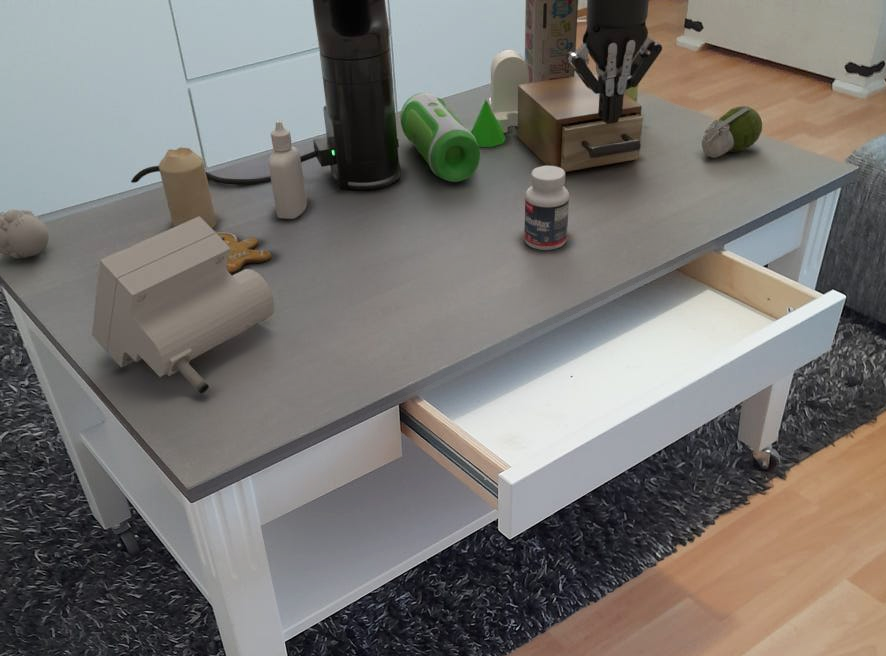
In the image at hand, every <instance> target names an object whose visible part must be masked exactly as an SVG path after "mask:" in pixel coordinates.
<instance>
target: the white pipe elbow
mask: <svg viewBox="0 0 886 656" xmlns="http://www.w3.org/2000/svg"><path fill="white" fill-rule="evenodd" d="M217 233H218V232H216V230H214V228H213V229H212V228H211V227H210V226H209V225H208V224H207V223H206V222H205V221H204V220H203V219H202V218H201V217H200V216H199V217H197V218H194V219H192V220H190V221H187V222H185V223H183V224H181V225H178V226H176V227H174V226H173V227H171V228H169V229H167V230H165V231H162V232H161V233H158V234H156V235H153V236H151V237H149V238H146V239H144V240H142V241H140V242H138V243H135V244H133V245H130V246H129V247H126V248H124V249H121V250H119V251H117V252H115V253H112V254H110V255H108V256H106V257H103V258H101V259H100V260H99V266H98V275H97V284H96V292H95V293H96V294H95V303H94V311H93V312H94V313H93V322H92V330H91V331H92V332H91V336H92V337H93V339H95V341H97V343H98V344H99V345H100V346H101V348H102V349H103V350H104V352H106V353H107V354H108V355H109V357H110V358H112V360H114V361H115V363H116V364H117V365H118V366H119V367H120V368H123V367H125V366H127V365H129V364H131V363H132V362H135V363H137V362H139V361H141V360H143V361H144V362H145V363H146V364H147V365H148V366H149V367H150V368H151V369H152V370H153V371H154V372H155V374H156V375H157V376H158V377H159V378H161V377H164V376H165V375H167V376H168V377H170V376H171V375H174V374H175V373H177V372H180V374H182V376H183V377H184V378H185V379H186V380H187V381H188V383H190V385H192V386H193V387H194V389H195V390H196V391H197V392H198V394H203V393H205V392H206V391H207V390H208V389H209V388H210V386H209V384H208V383H207V381H205V379H203V377H201V375H199V373H198V372H197V371H196V370H195V369H194V368H193V367H192V366H191V364H190V361H191V360H193V359H196V358H197V357H199V356H201V355H203V354H204V353H206V352H208V351H210V350H212V349H214V348H216V347H217V346H219V345H220V344H223V343H225V342H226V341H228V340H230V339H232V338H234V337H235V336H238V335H239V334H241V333H243V332H244V331H246V330H248V329H250V328H251V327H253V326H255V325H257V324H259V323H261V322H263V321H265V320H266V319H268V318H270V317H271V316H272V315H273V314H274V312H275V307H276V304H275V303H276V302H275V298H274V294H273V292H272V290H271V288H270V286H269V284H268V282H267V281H266V279H264V277H263V276H262V275H261V274H260V273H259V272H257V271H256V270H254V269H251V268H245V269H243V270H240V271H238V272H236V273H234V274H232V273H229V272H228V270H227V268H226V263H227V260H228V256H229V252H230V249H231V248H230V247H229V246H228V245H227V244H226V243H225V242H224V241H223V240H222V239H221V238H220V237H219V236H218V234H217Z"/></svg>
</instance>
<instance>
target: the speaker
mask: <svg viewBox="0 0 886 656" xmlns="http://www.w3.org/2000/svg"><path fill="white" fill-rule="evenodd" d="M399 118H400V126H401V129H402V132H403V134H404V136H405V137H406V139H407V140H408V141H409V142H411V143H412V145H413V146H414V147H415V148H416V150H417V151H418V152H419V154H420V155H421V156H422V158H423V159H424V160H425V162H426V163H427V164H428V166H429V168H430V170H431V171H432V173H433V174H434V175H435V176H437V177H439V178H440V179H442V180H444V181H447V182H452V183H457V182H462V181H464V180H467V179H468V178H470V177H471V176H472V175H473V174H474V173H475V172H476V170H477V168H478V166H479V163H480V159H481V152H480V147H479V146H478V143H477V141H476V139H475V137H474V135H473V134H472V133H471V131H470V130H469V129H468V128H467V127H466V126H465V125H464V124H463V123H462V122H461V121H460V120H459V119H458V118H457V117H456V116H455V114H454V113H453V112H452V111H451V110H450V109H449V108H448V107H447V104H445V102H444V101H443V100H442V99H441V98H440V97H439V96H438V95H435V94H432V93H426V92H420V93H416V94H413V95H412V96H410V97H409V98H408V99H407V100H406V101H405V102H404V103H403V105H402V107H401V110H400V117H399Z"/></svg>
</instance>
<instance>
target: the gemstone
mask: <svg viewBox="0 0 886 656" xmlns="http://www.w3.org/2000/svg"><path fill="white" fill-rule="evenodd" d="M470 132H471V133H472V134H473V135H474V137H475V139H476V141H477V143H478V146H479V148H493V147H496V146H499V145H503V144H504V143H505V141H506V138H507V137H506V135H505V133H503V131H502V129H501V127H500V125H499V124H498V122H497V120H496V118H495V116H494V114H493V112H492V110H491V108H490V106H489V101H488V100H487V99H484V102H483V104H482V107H481V109H480V110H479V114H478V116H477V118H476V120H475V122H474V125H473V126H472V129H471V131H470Z"/></svg>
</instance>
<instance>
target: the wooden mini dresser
mask: <svg viewBox="0 0 886 656" xmlns="http://www.w3.org/2000/svg"><path fill="white" fill-rule="evenodd" d="M592 73H593V72H592ZM593 75H594V76H595V78H596V79H597V80H598V74H597V72H595V73H593ZM642 107H643V106H642V105H641V104H640V103H638V101H637V102H636V101H634V100H633V99H632V98H630V97H629V96H627V95H626V94H625V93H624V96H623V109H622V115H623V114H629V113H630V116H633V115H640V116H642V109H643V108H642ZM598 109H599V93H598V94H595V93H594V92H593V91H592V90H591V89H589V88H587V87H586V85H585V84H584V83H583V81H582V80H581V78H580V77H579V76H578V75H574V77H567V78H561V79H554V80H548V81H541V82H535V83H528V84H522V85H518V126H516V128H517V133H516V135H517V138H518V139H519V140H520V141H521V142H522V143H523V144H524V145H525V146H526V147H528V149H529V150H530V151H531V152H532V153H533V154H534V155H536V157H537V158H538V159H539V160H540V161H541V162H542V163H543V164H544V165H545V166H556V167H559V168H561V161H560V158H561V135H562V124H568V123H574V122H581V121H587V120H593V119H599V118H601V117H599V114H598ZM635 160H636V161H637V159H634V160H633V161H635ZM630 161H631V162H632V160H628V161H627V162H630ZM625 162H626V161H622V162H617V163H616V164H619V163H625ZM613 164H615V163H611V164H610V165H613ZM607 165H608V166H609V164H605V165H604V166H607ZM602 166H603V165H600V166H599V167H602ZM595 167H596V168H597V167H598V166H594V167H593V168H595ZM591 168H592V167H588V168H587V169H591ZM584 169H586V168H583V169H582V170H584ZM580 170H581V169H577V170H576V171H580ZM574 171H575V170H571V171H570V172H574ZM565 173H569V171H566V172H565Z"/></svg>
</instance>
